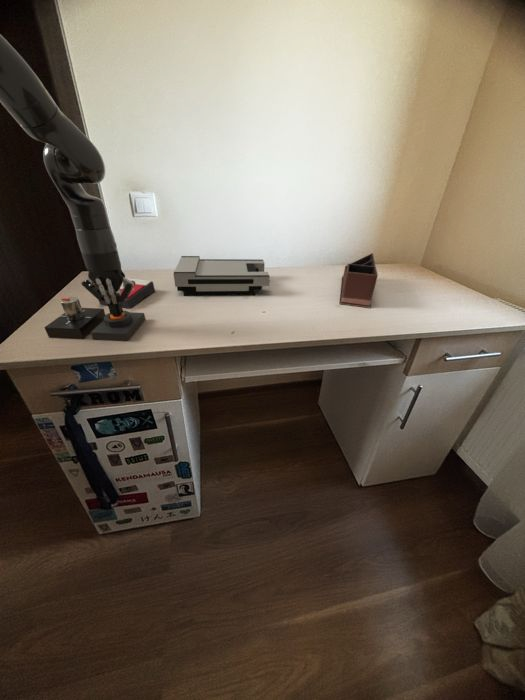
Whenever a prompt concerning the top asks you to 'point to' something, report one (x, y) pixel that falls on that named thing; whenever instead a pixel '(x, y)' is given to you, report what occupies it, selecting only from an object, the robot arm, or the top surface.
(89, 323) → the dial panel
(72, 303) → the dial
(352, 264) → the desk organizer
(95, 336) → the button block
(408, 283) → the top surface
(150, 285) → the calculator
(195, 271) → the game console
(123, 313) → the button
